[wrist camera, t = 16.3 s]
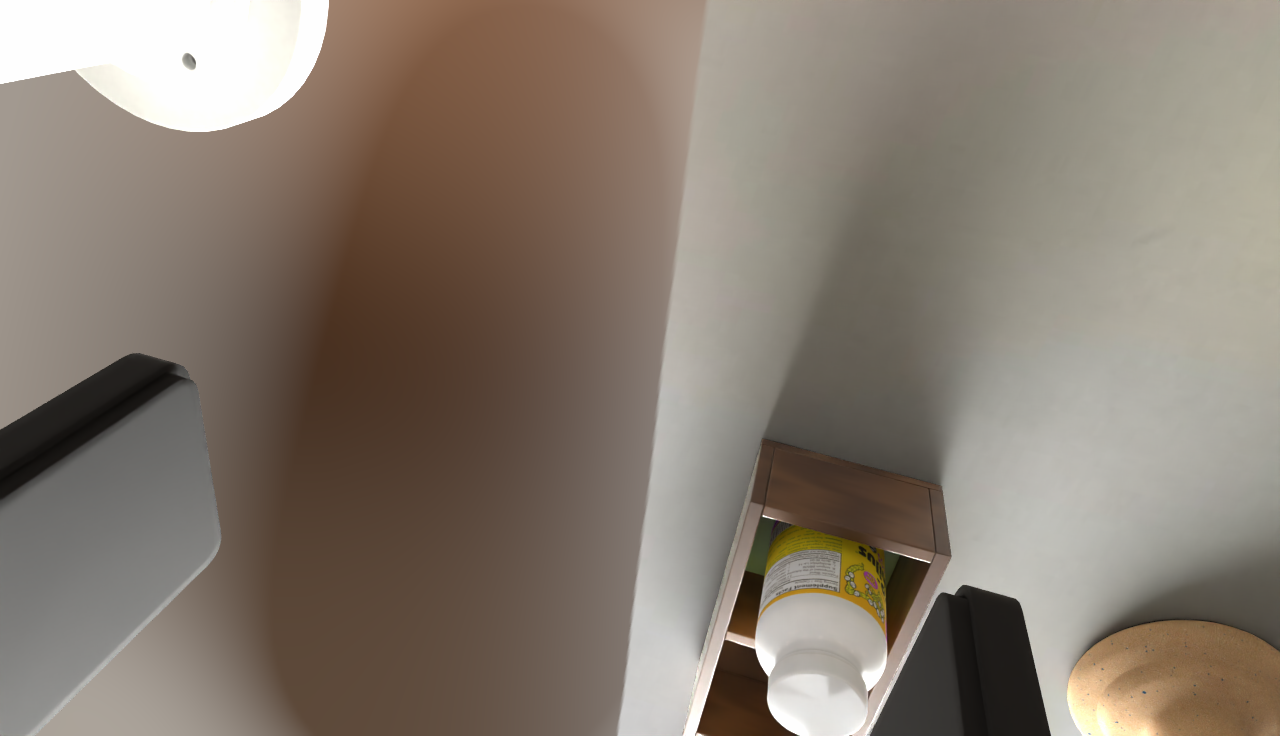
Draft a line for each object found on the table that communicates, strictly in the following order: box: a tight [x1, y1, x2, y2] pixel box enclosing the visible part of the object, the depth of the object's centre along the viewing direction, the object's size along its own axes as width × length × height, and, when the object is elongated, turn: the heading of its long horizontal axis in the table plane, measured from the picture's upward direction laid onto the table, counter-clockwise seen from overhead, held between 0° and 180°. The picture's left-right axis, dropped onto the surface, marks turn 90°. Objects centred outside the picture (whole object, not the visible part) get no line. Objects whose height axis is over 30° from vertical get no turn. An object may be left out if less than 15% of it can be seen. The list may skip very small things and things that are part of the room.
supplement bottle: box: [755, 520, 887, 736], centre depth 44 cm, size 7×7×13 cm
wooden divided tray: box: [683, 439, 952, 736], centre depth 50 cm, size 11×20×6 cm, turn 171°
